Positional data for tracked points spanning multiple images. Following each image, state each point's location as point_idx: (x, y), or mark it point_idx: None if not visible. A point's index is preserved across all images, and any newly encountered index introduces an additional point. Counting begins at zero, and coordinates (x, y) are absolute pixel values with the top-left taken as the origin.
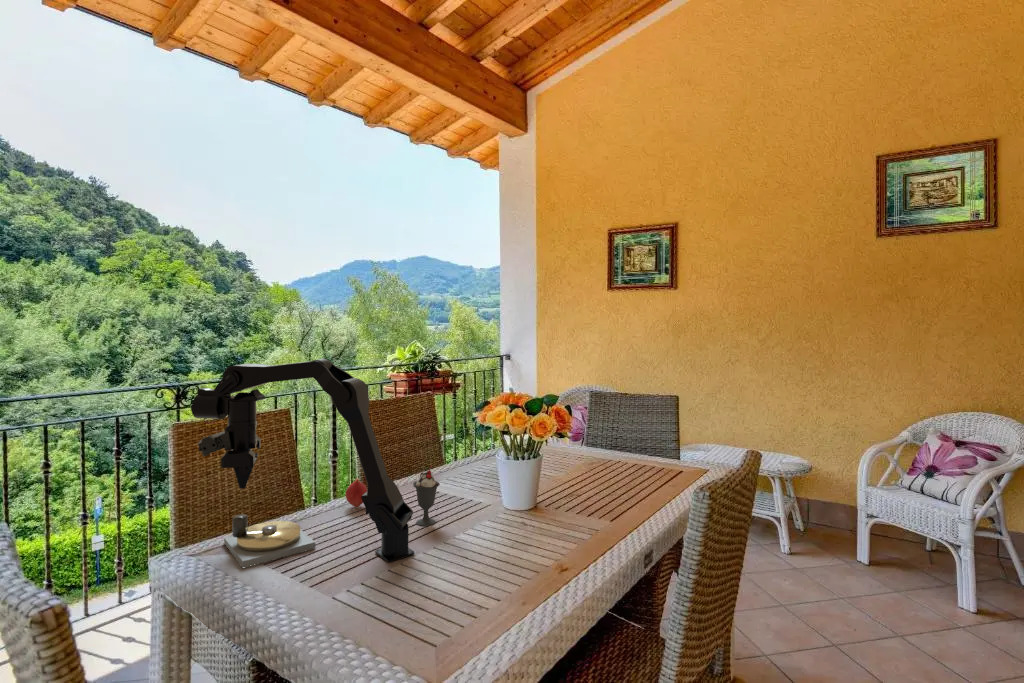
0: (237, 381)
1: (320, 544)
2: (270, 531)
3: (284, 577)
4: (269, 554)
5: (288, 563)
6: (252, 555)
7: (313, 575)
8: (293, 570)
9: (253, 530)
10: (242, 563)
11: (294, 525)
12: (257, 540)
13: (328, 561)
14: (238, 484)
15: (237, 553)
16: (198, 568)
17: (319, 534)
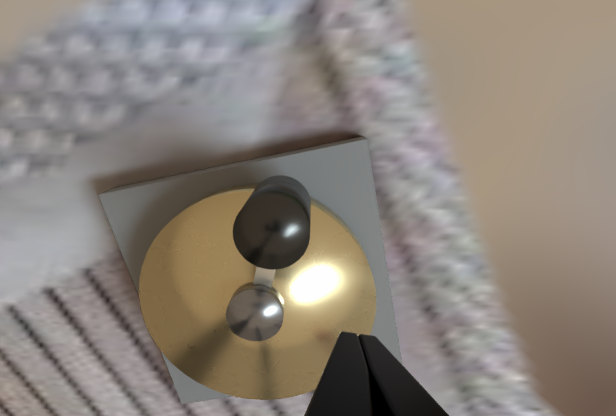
0: None
1: (216, 402)
2: (228, 314)
3: (14, 291)
4: (131, 277)
5: (108, 311)
6: (139, 227)
7: (8, 356)
8: (54, 317)
9: (304, 255)
10: (105, 191)
11: (285, 386)
12: (184, 261)
13: (87, 400)
14: (331, 352)
15: (177, 181)
16: (166, 41)
17: (296, 411)
